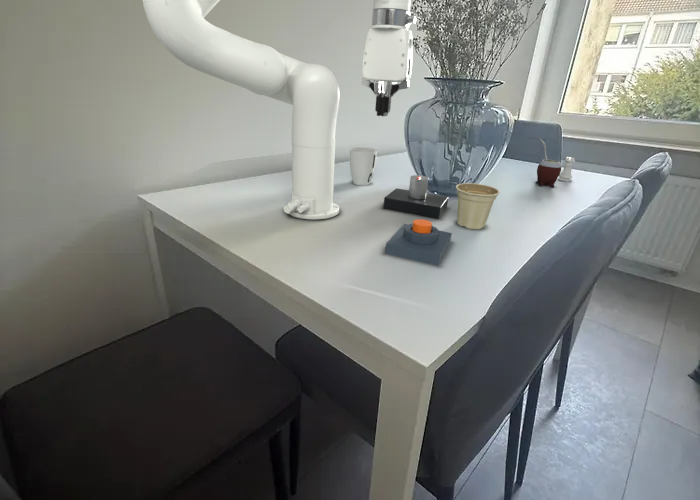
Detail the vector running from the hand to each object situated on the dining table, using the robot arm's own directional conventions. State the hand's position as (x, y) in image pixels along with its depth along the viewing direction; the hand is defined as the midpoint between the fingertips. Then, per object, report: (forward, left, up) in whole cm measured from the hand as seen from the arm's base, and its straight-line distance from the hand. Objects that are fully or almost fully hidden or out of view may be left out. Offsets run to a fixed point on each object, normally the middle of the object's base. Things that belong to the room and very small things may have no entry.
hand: (382, 115), depth 88 cm
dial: (+6, -9, -19) cm, 22 cm away
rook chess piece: (+67, -47, -22) cm, 85 cm away
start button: (-18, -16, -19) cm, 30 cm away
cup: (+21, +12, -22) cm, 33 cm away
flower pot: (+1, -23, -22) cm, 32 cm away
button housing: (-18, -16, -22) cm, 33 cm away
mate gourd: (+55, -40, -22) cm, 72 cm away
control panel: (+6, -9, -22) cm, 25 cm away
